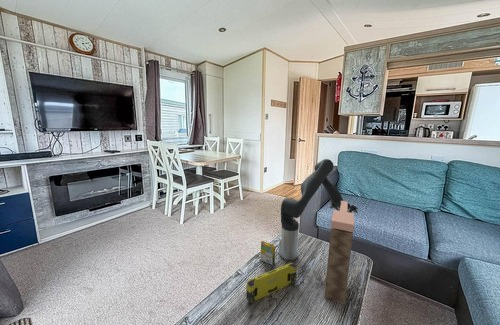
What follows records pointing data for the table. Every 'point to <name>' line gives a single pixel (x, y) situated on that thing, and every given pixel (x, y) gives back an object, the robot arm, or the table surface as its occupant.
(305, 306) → the table surface
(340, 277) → the wooden block
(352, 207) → the robot arm
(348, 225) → the paddle
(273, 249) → the crayon box
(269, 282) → the gaming console
